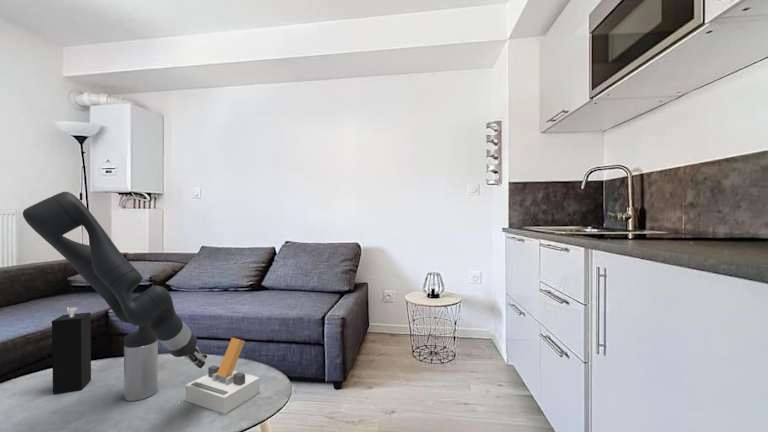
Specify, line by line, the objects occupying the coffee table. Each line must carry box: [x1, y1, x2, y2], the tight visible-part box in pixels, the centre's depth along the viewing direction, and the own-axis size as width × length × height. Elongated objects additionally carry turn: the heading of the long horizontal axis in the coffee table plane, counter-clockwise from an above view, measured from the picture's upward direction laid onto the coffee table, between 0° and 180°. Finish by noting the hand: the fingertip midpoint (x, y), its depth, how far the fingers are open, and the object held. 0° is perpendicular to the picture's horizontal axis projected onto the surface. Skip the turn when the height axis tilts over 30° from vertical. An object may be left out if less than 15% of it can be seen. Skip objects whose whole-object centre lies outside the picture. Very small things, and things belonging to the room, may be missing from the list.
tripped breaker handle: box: [217, 337, 246, 380], centre depth 116 cm, size 4×2×13 cm
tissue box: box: [51, 306, 92, 395], centre depth 120 cm, size 8×8×28 cm
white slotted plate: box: [184, 364, 261, 415], centre depth 114 cm, size 18×14×8 cm
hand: (201, 365), depth 112 cm, fingers closed
